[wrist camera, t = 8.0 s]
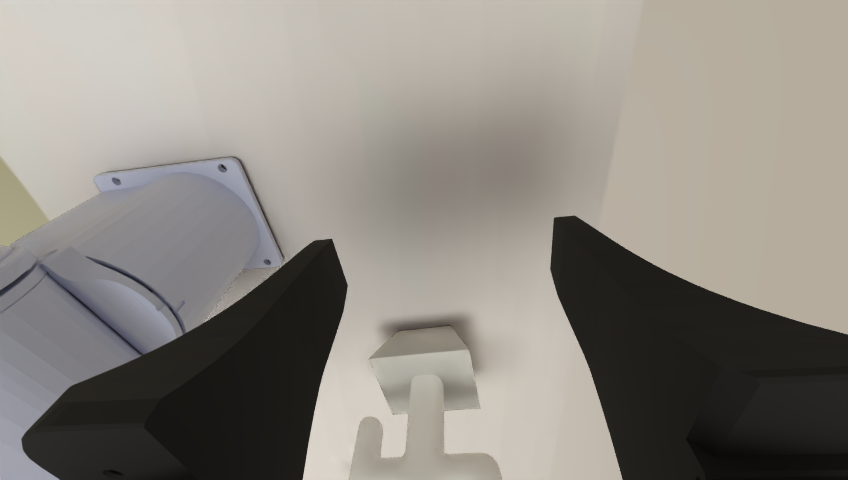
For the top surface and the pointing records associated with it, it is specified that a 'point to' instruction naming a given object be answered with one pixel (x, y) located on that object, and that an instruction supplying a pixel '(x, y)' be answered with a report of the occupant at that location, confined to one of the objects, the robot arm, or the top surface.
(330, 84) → the top surface
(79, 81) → the top surface
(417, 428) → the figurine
